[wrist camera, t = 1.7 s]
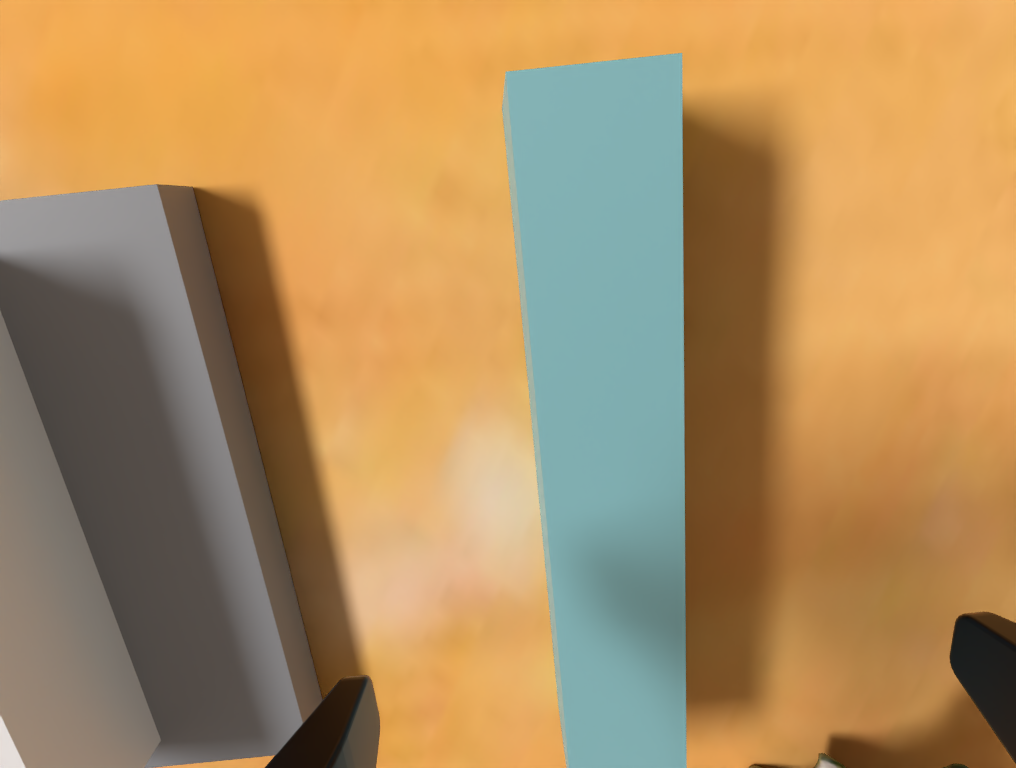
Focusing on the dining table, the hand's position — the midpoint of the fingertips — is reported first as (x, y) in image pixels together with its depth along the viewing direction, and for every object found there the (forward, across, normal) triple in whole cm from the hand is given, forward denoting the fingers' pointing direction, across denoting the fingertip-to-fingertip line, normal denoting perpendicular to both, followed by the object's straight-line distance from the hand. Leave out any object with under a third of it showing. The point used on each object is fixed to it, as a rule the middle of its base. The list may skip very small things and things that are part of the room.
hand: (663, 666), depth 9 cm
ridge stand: (+8, +14, 0) cm, 16 cm away
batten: (+8, 0, 0) cm, 8 cm away
